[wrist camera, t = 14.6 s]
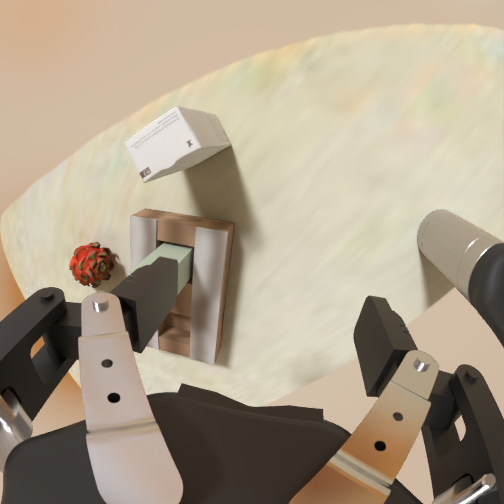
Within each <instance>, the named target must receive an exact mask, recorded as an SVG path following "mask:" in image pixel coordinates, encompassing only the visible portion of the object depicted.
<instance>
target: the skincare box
mask: <svg viewBox="0 0 504 504" xmlns="http://www.w3.org/2000/svg"><path fill="white" fill-rule="evenodd" d="M125 146H126V148H127V150H128V152H129V154H130V156H131V158H132V160H133V162H134V164H135V166H136V168H137V169H138V171H139V173H140V175H141V177H142V179H143V181H144V183H146V182H149V181H152V180H155V179H157V178H160V177H163V176H166V175H169V174H172V173H175V172H178V171H181V170H185V169H188V168H191V167H193V166H195V165H197V164H199V163H201V162H202V161H204V160H206V159H208V158H209V157H211V156H213V155H215V154H216V153H218V152H220V151H221V150H223V149H225V148H227V147H229V146H231V144H230V142H229V140H228V138H227V136H226V134H225V132H224V130H223V128H222V126H221V124H220V123H219V121H218V119H217V117H216V115H215V114H211V113H206V112H202V111H198V110H193V109H188V108H183V107H178V106H176V107H174V108H173V109H171V110H170V111H168V112H166V113H165V114H163V115H162V116H160V117H159V118H157V119H156V120H154V121H153V122H152V123H150V124H149V125H147V126H146V127H145V128H143V129H142V130H141V131H139V132H138V133H136V134H135V135H134V136H133V137H131V138H130V139H129V140H128V141H126V142H125Z"/></svg>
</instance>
